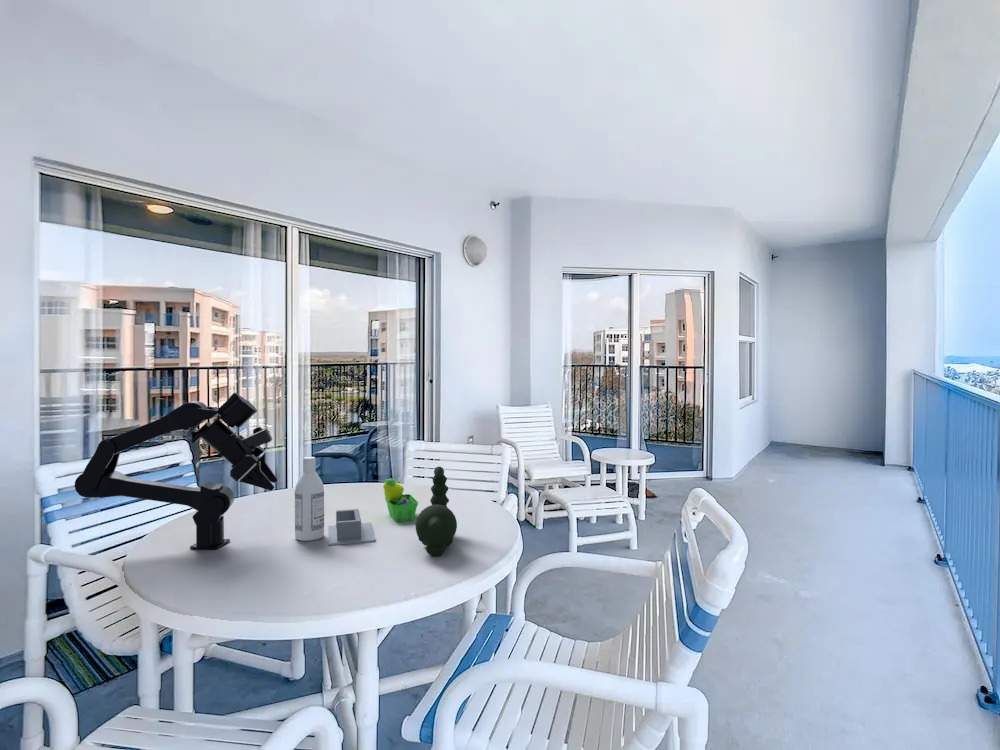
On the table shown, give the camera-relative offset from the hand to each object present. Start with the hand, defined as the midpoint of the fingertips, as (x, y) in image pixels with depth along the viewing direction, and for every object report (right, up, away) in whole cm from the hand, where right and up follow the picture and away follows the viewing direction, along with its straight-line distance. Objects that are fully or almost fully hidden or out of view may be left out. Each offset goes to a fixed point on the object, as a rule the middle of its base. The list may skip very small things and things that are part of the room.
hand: (274, 485), depth 141 cm
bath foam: (+8, -14, +3) cm, 16 cm away
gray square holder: (+17, -13, +6) cm, 23 cm away
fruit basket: (+27, -13, +22) cm, 37 cm away
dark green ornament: (+40, -14, -4) cm, 43 cm away
